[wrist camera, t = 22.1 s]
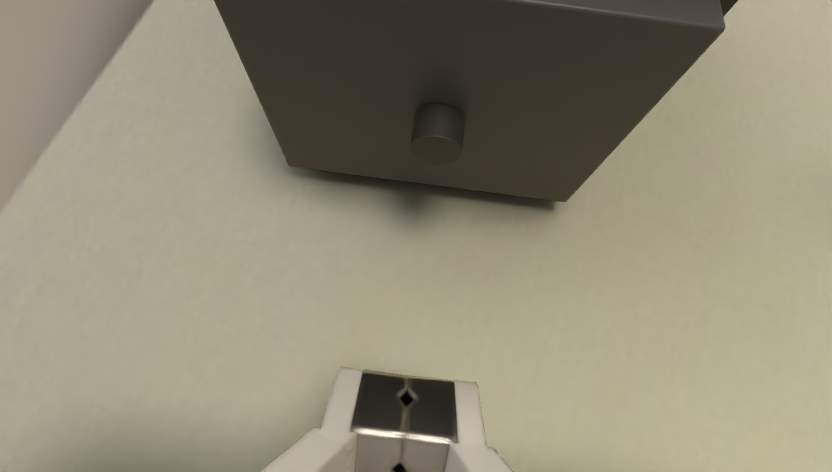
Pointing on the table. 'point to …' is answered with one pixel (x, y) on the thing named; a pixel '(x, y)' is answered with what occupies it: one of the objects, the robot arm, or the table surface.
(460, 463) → the robot arm
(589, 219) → the table surface
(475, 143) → the open drawer with knob
